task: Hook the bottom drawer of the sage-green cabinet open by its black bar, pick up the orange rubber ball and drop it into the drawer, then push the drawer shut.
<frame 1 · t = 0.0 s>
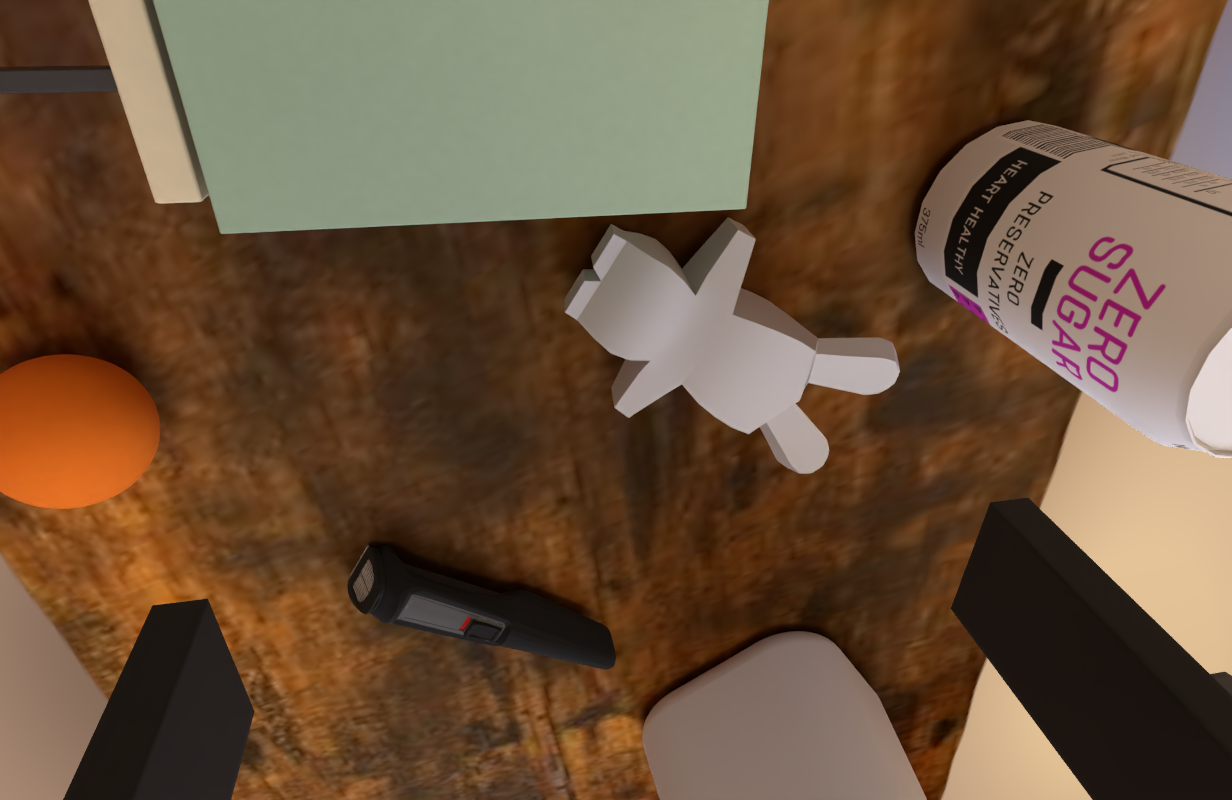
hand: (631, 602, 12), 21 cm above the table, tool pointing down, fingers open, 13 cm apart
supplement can: (986, 208, 34), on the table
bunny figurine: (712, 323, 35), on the table
ball: (69, 431, 28), point 3 cm above the table
plastic bottle: (757, 705, 52), on the table
electric trimmer: (487, 591, 41), on the table
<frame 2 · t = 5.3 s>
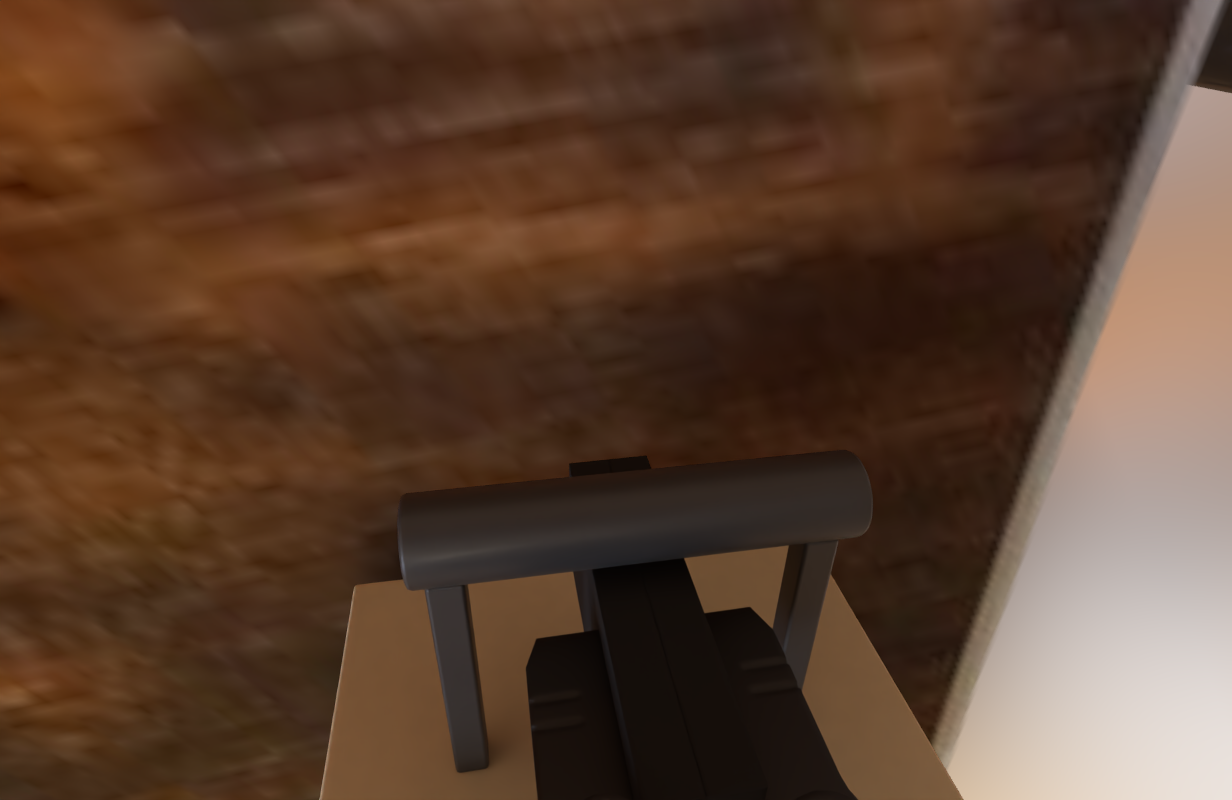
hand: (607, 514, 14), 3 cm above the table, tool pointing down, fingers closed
drawer: (617, 789, 17), point 5 cm above the table, slide at 1.2 cm, touching gripper
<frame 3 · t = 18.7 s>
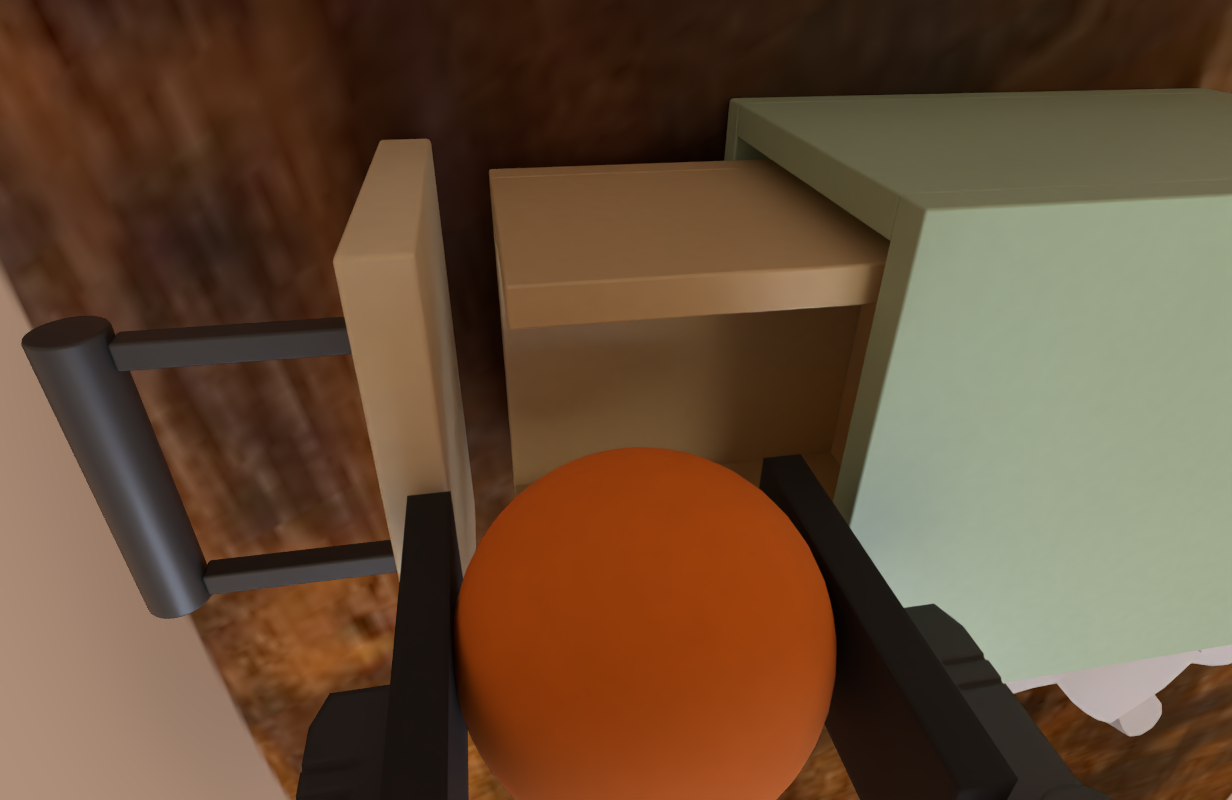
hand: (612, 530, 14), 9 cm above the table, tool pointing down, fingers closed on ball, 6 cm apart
bunny figurine: (1044, 584, 33), on the table
drawer: (558, 415, 17), point 5 cm above the table, slide at 7.7 cm
ball: (642, 633, 12), point 12 cm above the table, touching gripper
cabinet: (925, 300, 23), on the table
when the fingers open (9 cm above the table, at t = 26.0 s): ball drops 2 cm, point 10 cm above the table.
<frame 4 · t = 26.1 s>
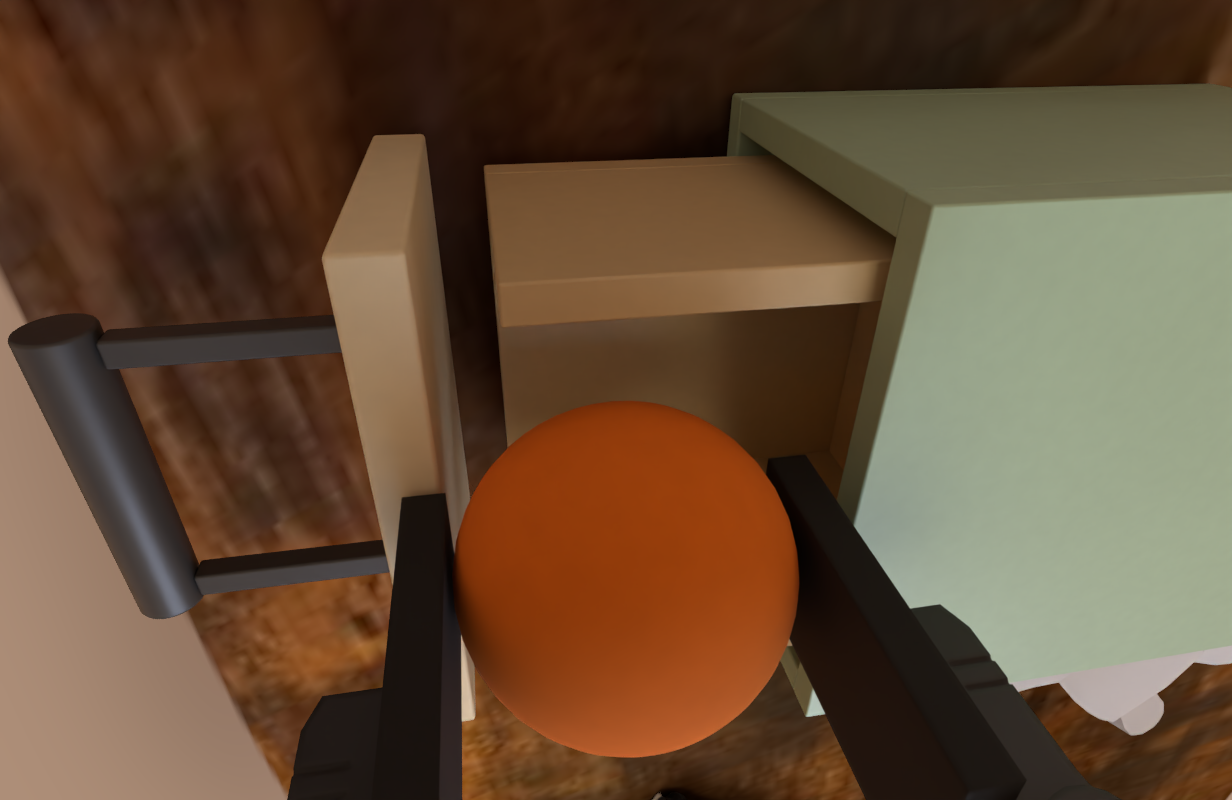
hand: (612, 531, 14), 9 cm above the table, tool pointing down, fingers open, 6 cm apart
bunny figurine: (1046, 583, 33), on the table
drawer: (554, 414, 17), point 5 cm above the table, slide at 7.8 cm, touching gripper
ball: (625, 569, 13), point 10 cm above the table
cabinet: (929, 297, 23), on the table
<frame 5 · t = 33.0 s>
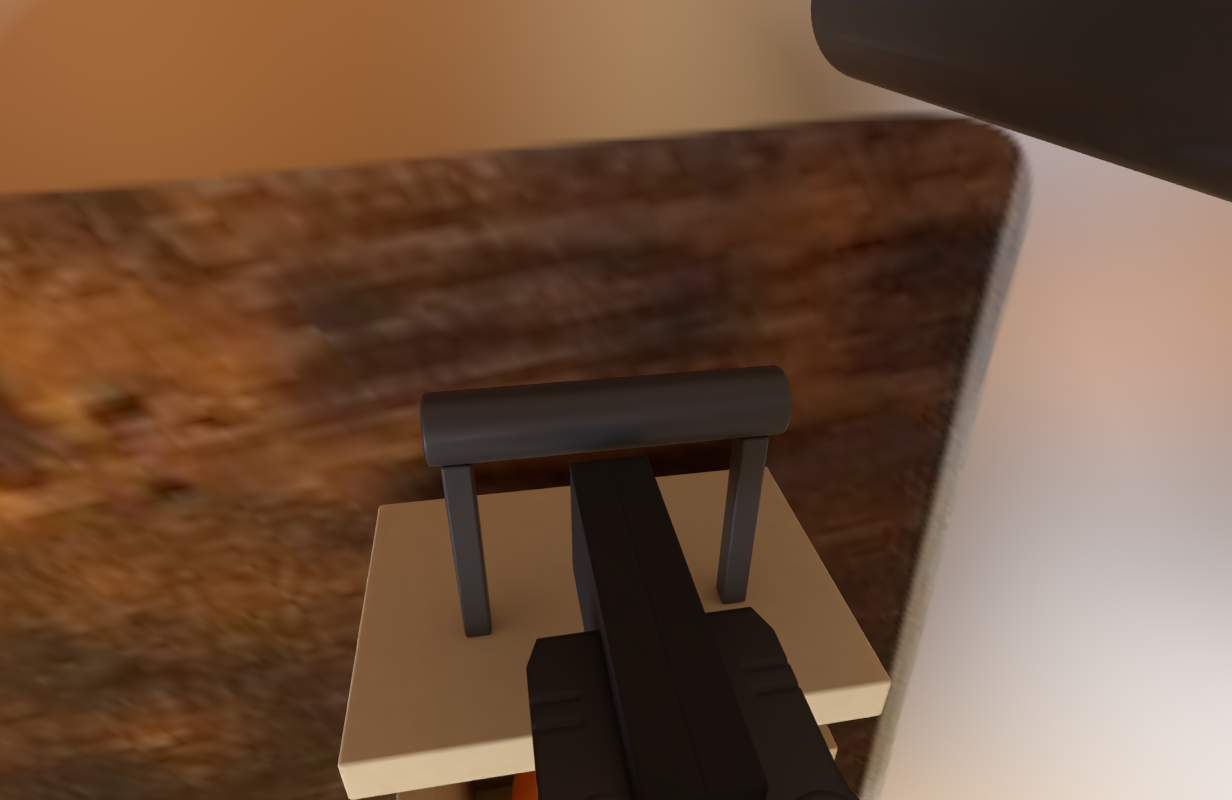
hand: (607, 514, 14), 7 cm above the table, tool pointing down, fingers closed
drawer: (601, 676, 20), point 5 cm above the table, slide at 7.8 cm, touching ball, gripper
ball: (608, 796, 22), point 5 cm above the table, tilted 90°, touching drawer
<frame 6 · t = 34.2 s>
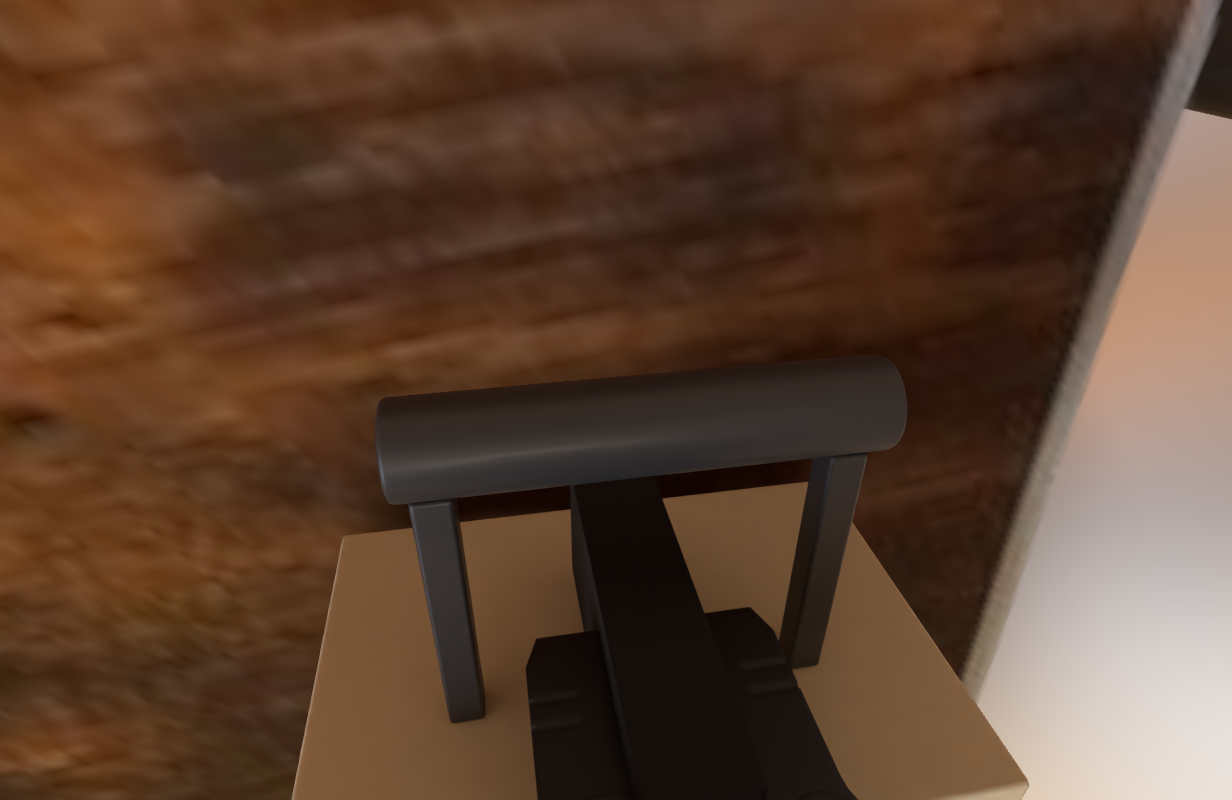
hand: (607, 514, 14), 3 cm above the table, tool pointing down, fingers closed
drawer: (625, 750, 16), point 5 cm above the table, slide at 5.3 cm, touching ball, gripper
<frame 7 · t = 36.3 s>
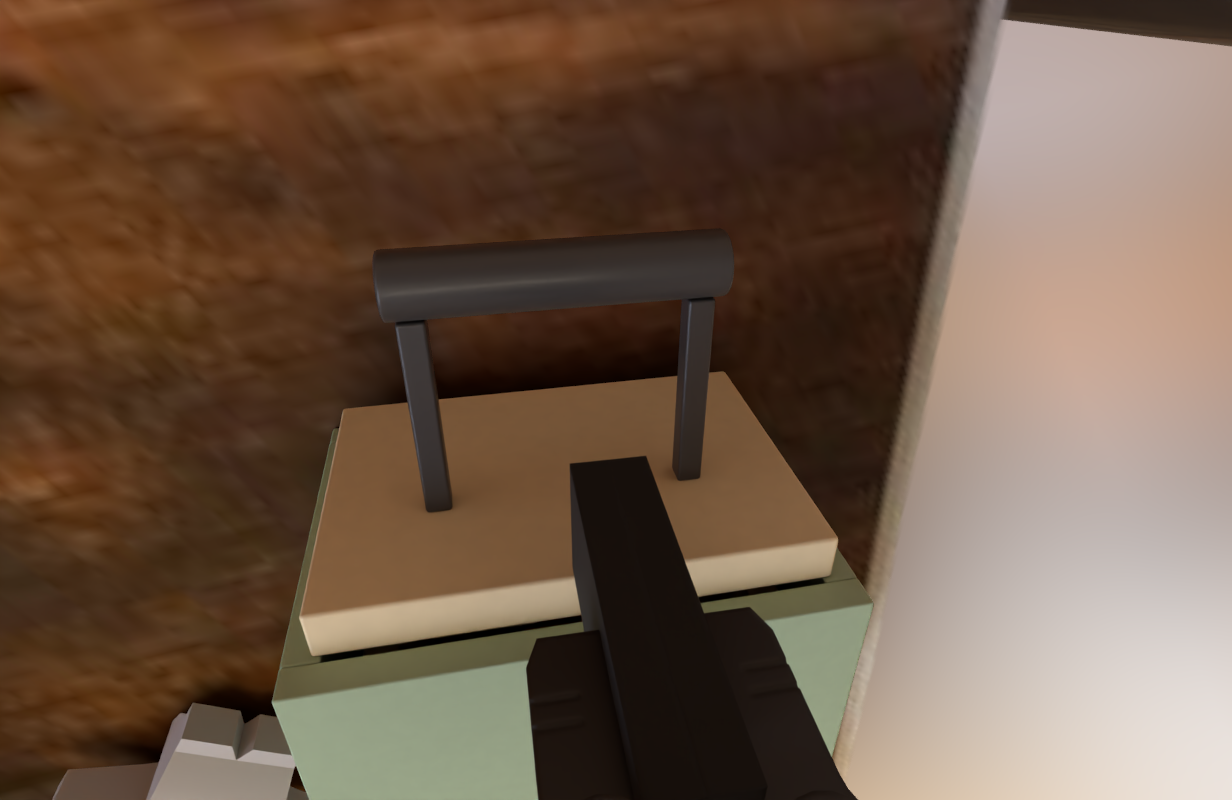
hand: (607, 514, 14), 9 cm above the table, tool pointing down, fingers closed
drawer: (565, 570, 20), point 5 cm above the table, slide at 0.0 cm, touching ball, cabinet
ball: (577, 709, 23), point 5 cm above the table, tilted 98°, touching drawer
cabinet: (550, 573, 27), on the table
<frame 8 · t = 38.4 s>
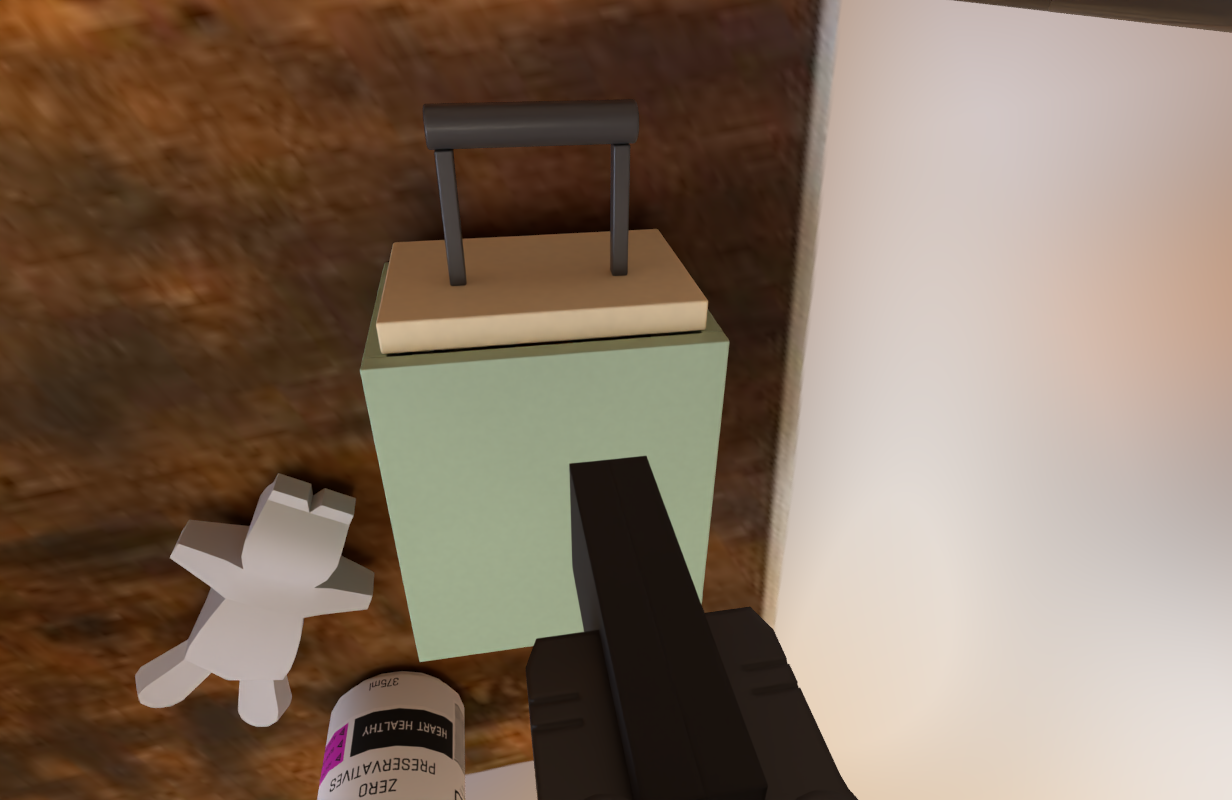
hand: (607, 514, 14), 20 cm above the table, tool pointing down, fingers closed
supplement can: (399, 703, 47), on the table
bunny figurine: (270, 569, 39), on the table
drawer: (541, 352, 30), point 5 cm above the table, slide at 0.0 cm, touching ball, cabinet
cabinet: (536, 392, 36), on the table
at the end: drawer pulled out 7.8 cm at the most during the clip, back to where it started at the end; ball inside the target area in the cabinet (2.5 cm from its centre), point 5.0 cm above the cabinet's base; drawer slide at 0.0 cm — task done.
